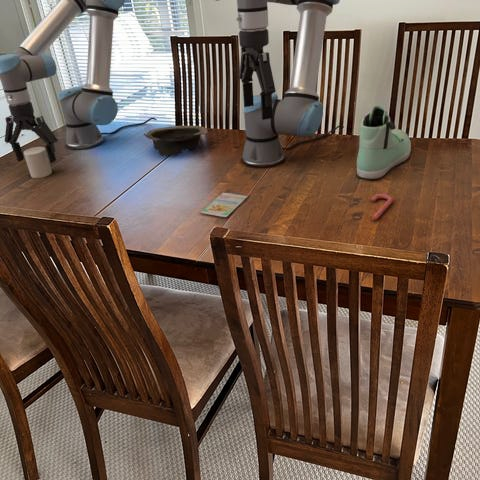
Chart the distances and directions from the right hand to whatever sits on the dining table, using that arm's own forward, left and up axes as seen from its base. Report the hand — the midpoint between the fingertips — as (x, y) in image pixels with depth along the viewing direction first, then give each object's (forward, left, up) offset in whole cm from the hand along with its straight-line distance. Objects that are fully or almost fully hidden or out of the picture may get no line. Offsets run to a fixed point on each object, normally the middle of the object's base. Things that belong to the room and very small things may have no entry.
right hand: (257, 112), depth 132 cm
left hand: (+65, -59, -22) cm, 91 cm away
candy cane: (-28, +20, -28) cm, 44 cm away
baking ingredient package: (+11, -3, -28) cm, 30 cm away
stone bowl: (+12, -58, -28) cm, 66 cm away
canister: (+64, -59, -28) cm, 92 cm away
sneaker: (-49, -9, -28) cm, 57 cm away
